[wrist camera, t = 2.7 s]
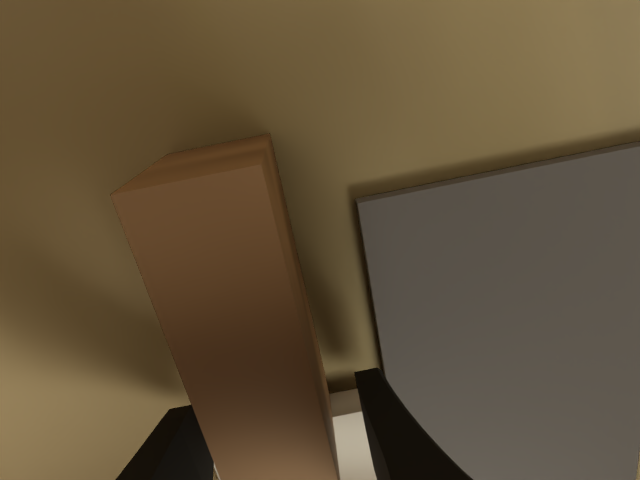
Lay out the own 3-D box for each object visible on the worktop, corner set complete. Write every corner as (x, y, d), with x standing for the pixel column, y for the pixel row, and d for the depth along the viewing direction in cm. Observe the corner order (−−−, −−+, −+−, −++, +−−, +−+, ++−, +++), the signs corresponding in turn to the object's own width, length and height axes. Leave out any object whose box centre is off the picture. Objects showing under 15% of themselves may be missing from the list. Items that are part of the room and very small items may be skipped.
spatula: (116, 164, 10) (34, 210, 7) (321, 122, 10) (336, 149, 7) (257, 542, 16) (248, 671, 12) (392, 515, 16) (421, 637, 12)
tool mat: (665, 136, 11) (678, 138, 11) (614, 590, 18) (620, 601, 18) (355, 198, 11) (357, 203, 11) (425, 627, 18) (428, 639, 18)
